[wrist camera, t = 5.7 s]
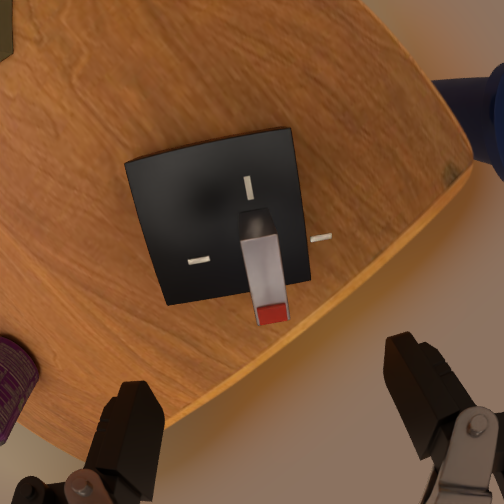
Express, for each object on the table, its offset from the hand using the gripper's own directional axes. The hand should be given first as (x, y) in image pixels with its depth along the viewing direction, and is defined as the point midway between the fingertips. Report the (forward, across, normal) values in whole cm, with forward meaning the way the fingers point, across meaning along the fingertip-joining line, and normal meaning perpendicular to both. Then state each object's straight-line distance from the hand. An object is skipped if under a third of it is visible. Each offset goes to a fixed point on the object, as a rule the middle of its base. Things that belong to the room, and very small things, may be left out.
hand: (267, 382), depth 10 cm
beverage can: (+14, +29, +9) cm, 33 cm away
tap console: (+14, +1, -1) cm, 14 cm away
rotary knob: (+11, 0, 0) cm, 11 cm away
